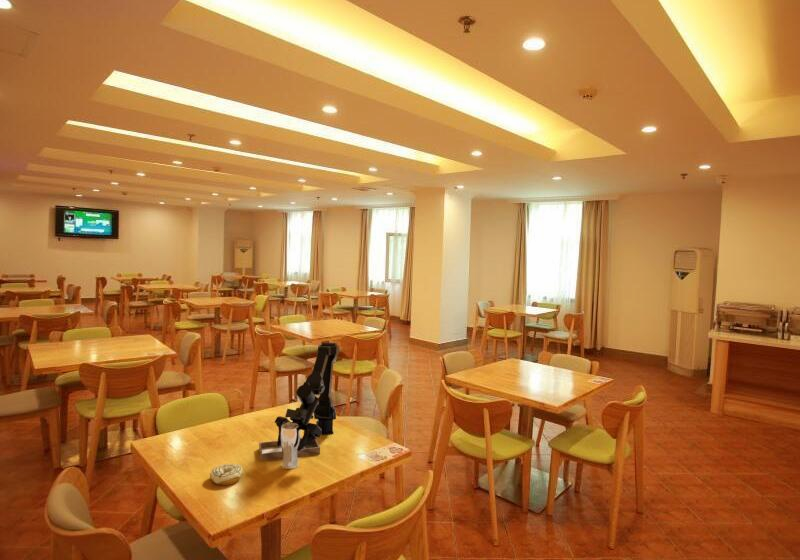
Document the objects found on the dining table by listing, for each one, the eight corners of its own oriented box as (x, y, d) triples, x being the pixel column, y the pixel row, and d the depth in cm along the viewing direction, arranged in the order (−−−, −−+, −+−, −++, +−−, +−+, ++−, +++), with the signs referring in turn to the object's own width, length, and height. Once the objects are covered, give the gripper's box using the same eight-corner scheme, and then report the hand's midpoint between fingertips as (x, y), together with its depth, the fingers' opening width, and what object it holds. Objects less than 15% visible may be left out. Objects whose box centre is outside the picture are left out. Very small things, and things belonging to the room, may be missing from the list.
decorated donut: (214, 490, 153) (214, 479, 152) (207, 477, 161) (206, 466, 161) (246, 481, 158) (246, 471, 158) (237, 469, 167) (237, 459, 167)
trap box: (315, 442, 192) (315, 436, 192) (319, 453, 181) (320, 447, 181) (259, 448, 185) (259, 442, 184) (260, 460, 174) (260, 454, 174)
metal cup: (303, 463, 173) (304, 424, 172) (291, 471, 166) (292, 430, 166) (288, 459, 176) (288, 421, 175) (276, 467, 169) (276, 427, 168)
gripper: (277, 395, 177) (257, 433, 168) (318, 403, 169) (298, 443, 160) (290, 409, 185) (271, 446, 175) (329, 417, 177) (312, 457, 167)
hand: (287, 448), depth 169 cm, fingers open, 9 cm apart
